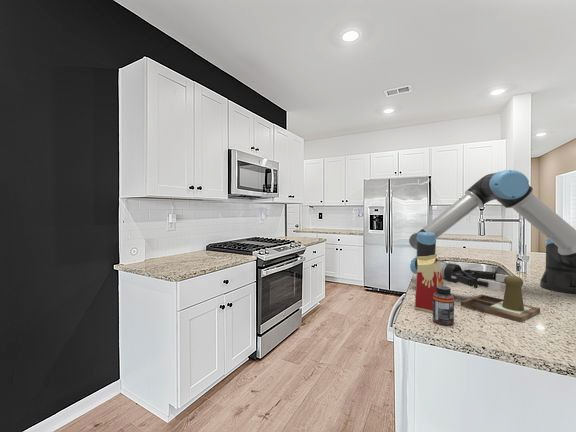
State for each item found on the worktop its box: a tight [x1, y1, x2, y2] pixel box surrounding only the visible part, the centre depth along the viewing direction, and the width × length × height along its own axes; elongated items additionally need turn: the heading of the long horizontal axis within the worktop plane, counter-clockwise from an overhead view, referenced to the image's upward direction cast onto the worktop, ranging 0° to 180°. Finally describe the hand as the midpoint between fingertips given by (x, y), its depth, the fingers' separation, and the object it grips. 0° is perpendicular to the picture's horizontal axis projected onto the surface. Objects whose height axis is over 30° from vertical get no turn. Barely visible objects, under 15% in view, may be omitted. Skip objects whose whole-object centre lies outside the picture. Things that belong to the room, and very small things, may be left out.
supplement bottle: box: [432, 285, 455, 326], centre depth 92 cm, size 6×6×11 cm
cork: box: [502, 275, 525, 311], centre depth 100 cm, size 6×6×11 cm
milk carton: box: [414, 253, 445, 314], centre depth 104 cm, size 9×9×20 cm
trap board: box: [460, 294, 541, 323], centre depth 104 cm, size 16×18×2 cm
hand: (509, 283), depth 101 cm, fingers open, 13 cm apart
